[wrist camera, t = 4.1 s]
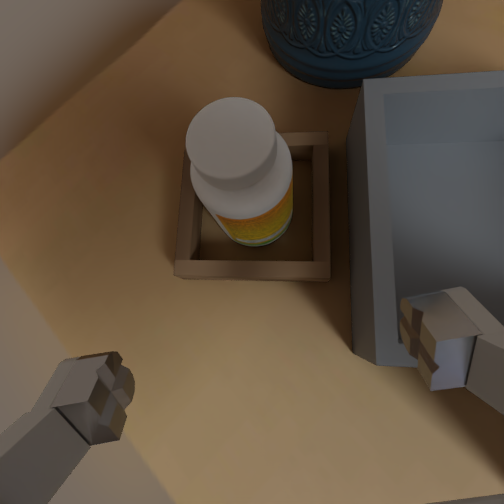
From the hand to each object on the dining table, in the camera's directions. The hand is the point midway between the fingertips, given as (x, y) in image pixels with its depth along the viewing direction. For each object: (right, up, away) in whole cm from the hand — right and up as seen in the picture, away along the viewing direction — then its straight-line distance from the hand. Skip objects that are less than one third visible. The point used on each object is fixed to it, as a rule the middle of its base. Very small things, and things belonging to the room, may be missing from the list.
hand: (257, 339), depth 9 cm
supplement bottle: (0, +5, +14) cm, 15 cm away
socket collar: (0, +5, +14) cm, 15 cm away
